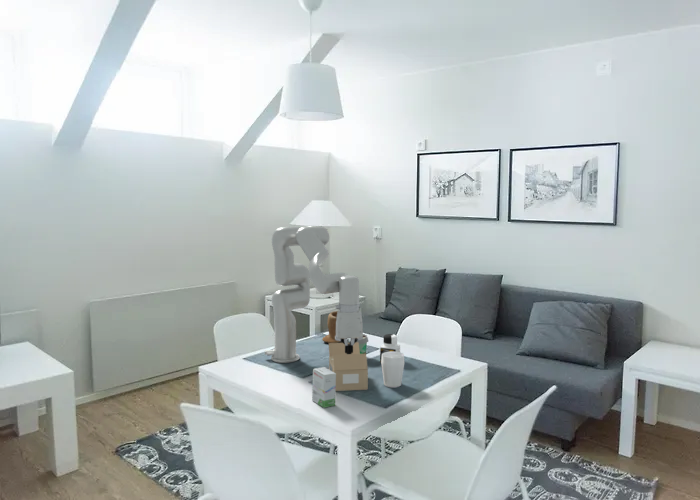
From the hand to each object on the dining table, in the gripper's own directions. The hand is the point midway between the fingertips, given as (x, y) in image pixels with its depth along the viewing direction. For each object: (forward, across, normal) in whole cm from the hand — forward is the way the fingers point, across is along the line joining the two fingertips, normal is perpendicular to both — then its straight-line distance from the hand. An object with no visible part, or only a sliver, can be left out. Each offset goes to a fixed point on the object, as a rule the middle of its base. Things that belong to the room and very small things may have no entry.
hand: (348, 354), depth 208 cm
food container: (+12, +10, +33) cm, 37 cm away
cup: (+12, +17, -2) cm, 21 cm away
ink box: (+12, -11, -16) cm, 23 cm away
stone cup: (+12, +2, +63) cm, 65 cm away
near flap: (+2, 0, -4) cm, 5 cm away
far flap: (+2, 0, +15) cm, 15 cm away
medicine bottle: (+12, +22, +27) cm, 37 cm away
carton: (+12, 0, +3) cm, 13 cm away
